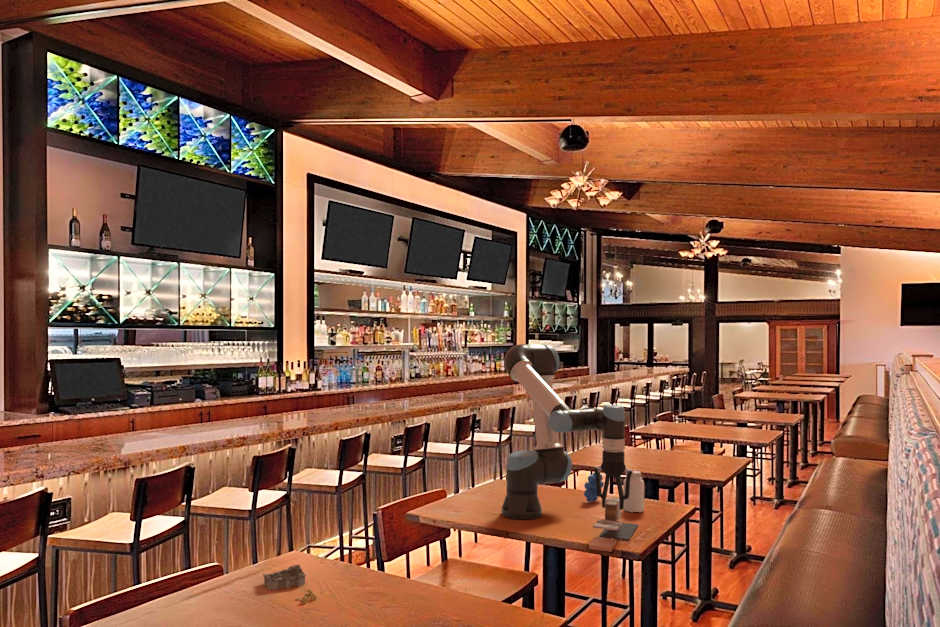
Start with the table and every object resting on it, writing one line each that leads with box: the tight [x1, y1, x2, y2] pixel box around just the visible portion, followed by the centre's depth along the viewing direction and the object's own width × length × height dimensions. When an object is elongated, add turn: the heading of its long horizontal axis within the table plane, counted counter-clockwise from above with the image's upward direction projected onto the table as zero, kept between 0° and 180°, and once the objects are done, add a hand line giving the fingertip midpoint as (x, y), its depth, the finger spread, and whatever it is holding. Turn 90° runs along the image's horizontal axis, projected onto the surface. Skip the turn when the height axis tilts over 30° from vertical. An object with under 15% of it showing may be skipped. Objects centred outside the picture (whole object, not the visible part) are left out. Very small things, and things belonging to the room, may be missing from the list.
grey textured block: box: [262, 564, 307, 591], centre depth 204 cm, size 11×8×4 cm
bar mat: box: [598, 522, 639, 541], centre depth 260 cm, size 10×20×1 cm, turn 159°
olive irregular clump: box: [295, 589, 317, 605], centre depth 194 cm, size 5×5×2 cm
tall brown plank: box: [592, 496, 623, 530], centre depth 256 cm, size 22×8×6 cm, turn 159°
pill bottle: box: [622, 470, 645, 513], centre depth 290 cm, size 8×8×15 cm
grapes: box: [583, 472, 605, 503], centre depth 304 cm, size 12×7×12 cm, turn 134°
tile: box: [588, 536, 618, 553], centre depth 243 cm, size 7×2×10 cm
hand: (612, 517), depth 259 cm, fingers closed on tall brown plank, 3 cm apart
